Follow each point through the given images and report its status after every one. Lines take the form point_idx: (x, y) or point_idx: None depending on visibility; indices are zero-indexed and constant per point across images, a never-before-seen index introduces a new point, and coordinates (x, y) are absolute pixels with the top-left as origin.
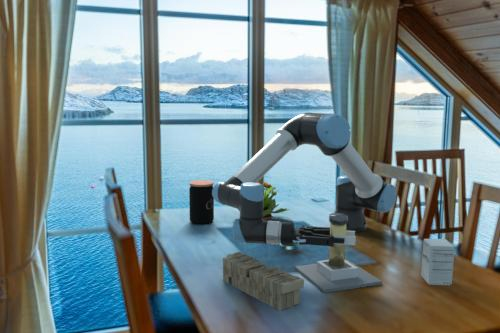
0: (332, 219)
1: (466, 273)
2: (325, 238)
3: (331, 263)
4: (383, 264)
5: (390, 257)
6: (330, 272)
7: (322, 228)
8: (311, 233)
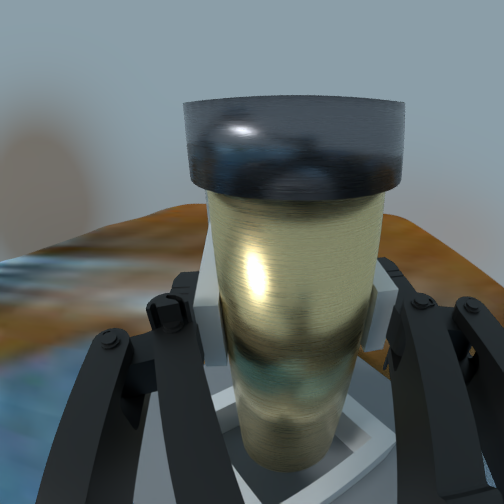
0: (401, 138)
1: (189, 220)
2: (500, 330)
3: (327, 447)
4: (130, 318)
5: (80, 301)
6: (391, 446)
7: (110, 416)
8: (490, 491)
